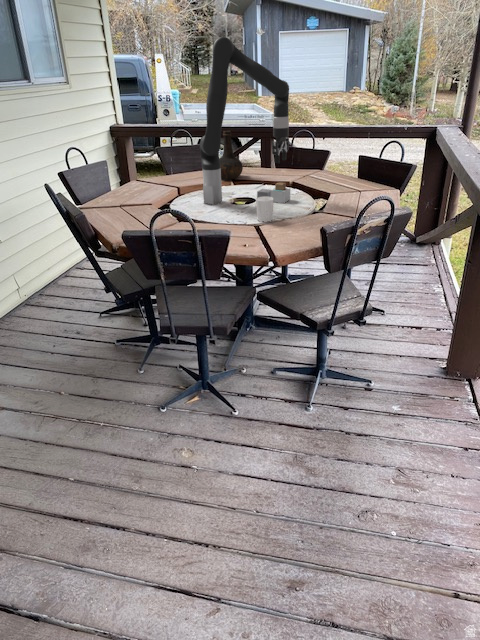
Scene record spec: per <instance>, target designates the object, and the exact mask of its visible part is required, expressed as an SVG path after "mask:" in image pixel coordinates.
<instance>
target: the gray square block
mask: <svg viewBox="0 0 480 640" xmlns="http://www.w3.org/2000/svg"><path fill="white" fill-rule="evenodd" d="M271 190H272V189H270V188H269V189H267V188H262V189H259V190H258V191H256V198H258V197H263V196H267V197H271Z"/></svg>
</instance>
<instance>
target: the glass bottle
mask: <svg viewBox="0 0 480 640" xmlns="http://www.w3.org/2000/svg"><path fill="white" fill-rule="evenodd" d="M221 136H223V149H222V150H223V151H222V152H223V153H222V156H221V157H219V160H220V166H221V180H225V181H226V180H227V181H229V180H230V181H232V180H235V179H238V178H239V177H240V176H241V175H242V173H243V169H244V167H243V163H242V161H241V160H240V159H238V158H237V157H236V156H235V155H234V151H233V144H232V137H231V136H233V134H232V132H231V130H223V131H222V133H221Z"/></svg>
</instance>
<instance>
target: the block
mask: <svg viewBox="0 0 480 640" xmlns="http://www.w3.org/2000/svg"><path fill="white" fill-rule="evenodd" d="M274 185H275V186H274V188H275V190H282V191H284V190H286V188H287V186H286V185H287V184H286V182H280V181H279V182H277V183H275V184H274Z"/></svg>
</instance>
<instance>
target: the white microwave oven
mask: <svg viewBox="0 0 480 640" xmlns="http://www.w3.org/2000/svg"><path fill="white" fill-rule="evenodd" d="M270 190H271V197H272V198H273V203H275V202H278V203H277V204H286V203H288V202H289V201H291V188H289V187H286V190H284V191H282V190H275V187H273V188H272V189H270ZM288 200H289V201H288ZM287 201H288V202H287ZM285 202H286V203H285Z"/></svg>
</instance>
